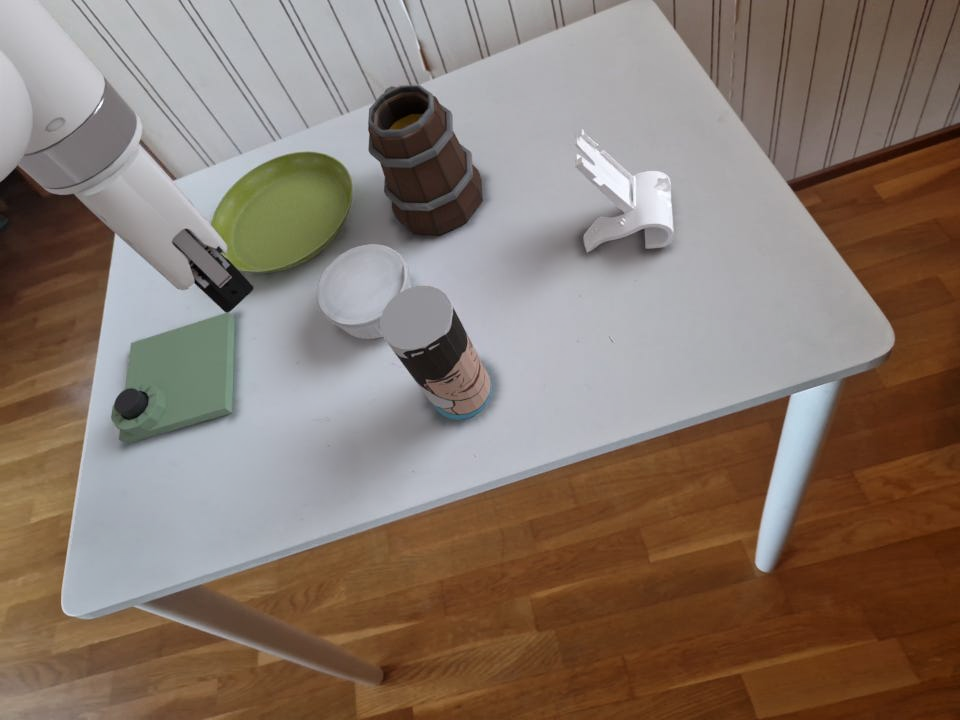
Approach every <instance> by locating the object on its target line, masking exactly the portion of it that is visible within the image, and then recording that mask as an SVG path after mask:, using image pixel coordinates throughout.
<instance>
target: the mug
mask: <svg viewBox="0 0 960 720" xmlns="http://www.w3.org/2000/svg"><path fill="white" fill-rule="evenodd" d="M453 120H454V118H453V113H452V111H451V110H450V109H449V108H447V107H446V106H444V105H442V104H441V103H440V101H439V100H438V98H437V97H436V96H435V95H433V93H432V92H430V91H429V90H428V89H426V88H425V87H424V86H422V85H420V84H410V85H409V84H408V85H406V84H405V85H398V86H393V85H392V86H389V87H387V88H385V90H384V92H383V93H382V94H380V95H379V97H378V98H377V99H376V100H375V101H374V102H373V104H372V105H371V106H370V107H369V108H368V121H367V122H368V123H367V125H368V126H367V131H368V148H367V149H368V150H367V151H368V153H369V154H370V156H372V157H373V158H374V159H375V160H377V162H379V164H380V167H381V170H382V173H383V175H384V183H383V184H384V185H383V193H384V195H385V196H386V197H387V198H388V199H389V200H390V201H391V211H392V213H393V215H394V216H395V218H396V220H397V221H398V222H399V223H401V225H402V226H404V227H405V228H406V229H407V230H408V231H409V232H410V233H411V234H414V235H415V234H416V235H433V236H441V235H443V234H445V233H447V232H449V231H451V230H453V229H456V228H458V227H460V226H462V225H464V224H466V223H468V221H470V219H471V218H472V216H473V215H474V214H475V212H476V210H477V209H478V208H479V207H480V206H481V204H482V203H483V202H484V200H483V182H482V177H481V175H480V171H479V169H478V168H477V167H476V166H474V164H473V155H472V151H470V150H469V149H468V148H466V147H465V146H464V145H462V144H461V143H460V142H459V139H458V137H457V135H456V134H455V131H454V122H453Z"/></svg>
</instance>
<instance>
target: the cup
mask: <svg viewBox="0 0 960 720" xmlns="http://www.w3.org/2000/svg"><path fill="white" fill-rule="evenodd" d="M380 327H381V333H382V335H383V337H382V338H384V340H385V342H386V343H387V344H388V346H389V347H390V348H391V350H392V352H394V354H395V355H396V357H397V358H398V359H399V361H400V362H401V363H402V365H403V366H404V368H405V369H406V370H407V372H408V373H409V375H410V376H411V377H412V379H413V380H414V381H415V383H416V385H417V386H418V387H419V388H420V389H421V391H422V392H423V393H424V395H425V396H426V398H427V399H428V401H429V402H430V403H431V405H432V406H433V407H434V409H435V410H436V412H438V413H439V414H440V415H441V416H443V417H444V418H447V419H450V420H454V421H455V420H458V421H461V420H466V419H470V418H473V417H474V416H476V415H478V414H479V413H481V412H482V411H483V409H484V408H486V406H488V403H489V401H490V399H491V397H492V391H493V384H492V378H491V377H490V375H489V373H488V371H487V370H486V367H485V366H484V364H483V361H482V359H481V358H480V355H479V354H478V352H477V350H476V348H475V346H474V345H473V342H472V340H471V339H470V337H469V335H468V333H467V331H466V329H465V327H464V325H463V323H462V321H461V319H460V317H459V316H458V313H457V312H456V310H455V308H454V305H453V303H452V302H451V301H450V298H449V297H448V296H447V294H446V293H445V292H444V291H442V290H441V289H440V288H438V287H434V286H432V285H415V286H412V287H411V288H408V289H406V290H404V291H402V292H400V293H399V294H397V295H396V296H395V297H394V298H393V299H392V300H390V301H389V302H388V304H387V306H386V307H385V309H384V310H383V313H382V316H381V320H380Z"/></svg>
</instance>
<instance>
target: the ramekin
mask: <svg viewBox="0 0 960 720" xmlns="http://www.w3.org/2000/svg"><path fill="white" fill-rule="evenodd" d="M410 276H411V275H410V270H409V267H408V265H407V262H406V260H405V259H404V258H403V257H402V255H401V254H400V253H399V252H397V250H395V249H393V248H391V247H390V246H387V245H383V244H376V243H370V244H369V243H368V244H362V245H359V246H355V247H353V248H350V249H348V250H346V251H344V252H343V253H341V254H340V255H338V256H337V257H336V258H335V259H334V260H333V261H331V263H330V264H329V265H328V266H327V267H326V268H325V270H324V271H323V273H322V274H321V276H320V278H319V281H318V284H317V288H316V289H317V290H316V301H317V305H318V307H319V310H320V311H321V313H322V315H323V316H324V317H325V318H326V319H327V320H328V321H329V322H330V323H332V324H333V325H335V326H337V327H339V328H340V329H342V331H344V332H346V333H347V334H349V335H350V336H352V337H355V338H357V339H363V340H374V339H379V338H384V337H383V335H382V333H381V327H380V320H381V316H382V313H383V310H384V309H385V307H386V306H387V304H388V302H389V301H390V300H392V299H393V298H394V297H395V296H396V295H397V294H399V293H400V292H402V291H404V290H406V289H408V288H411V287H413V284H412V280H411V278H410Z"/></svg>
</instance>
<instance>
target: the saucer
mask: <svg viewBox="0 0 960 720" xmlns="http://www.w3.org/2000/svg"><path fill="white" fill-rule="evenodd" d="M352 179H353V178H352V177H351V174H350V172H349V170H348V169H347V167H346V166H345V164H343V163H342V162H341V160H339V159H337V158H335V157H334V156H332V155H330V154H327V153H323V152H319V151H318V152H317V151H295V152H291V153H286V154H281V155H279V156H276V157H274V158H272V159H271V158H270V159H269V160H267V161H265V162H262V163H261V164H259V165H258V166H256V167H254V168H253V169H251V170H250V171H248V172H247V173H245V174H244V175H243V176H242V177H240V178H239V179H238V180H237V181H236V182H235V183H234V184H233V185H232V186H231V187H230V188H229V189H228V190H227V191H226V192H225V194H224V195H223V197H222V198H221V200H220V201H219V203H218V204H217V206H216V208H215V210H214V213H213V215H212V218H211V222H210V224H211V226H212V227H213V228H214V229H215V230H216V232H217V233H218V234H219V235H220V237H221V238H222V239H223V240H224V242H225V243H226V244H227V254H224V253H222V255H223V256H224V257H225V258H227V259H228V260H229V261H230V262H231V263H232V264H233V265H234V266H235V267H236V268H237V269H238V271H240V272H246V273H252V274H253V273H254V274H267V273H276V272H281V271H285V270H288V269H292V268H295V267H297V266H299V265H302V264H303V263H305V262H308V261H309V260H311V259H313V258H314V257H316V256H317V255H318V254H319V253H321V252H322V251H324V249H326V248H327V247H328V246H329V245H330V244H331V243H332V242H333V241H334V239H335V238H336V237H337V235H338V234H339V233H340V231H341V230H342V228H343V227H344V225H345V223H346V221H347V218H348V216H349V213H350V210H351V207H352V203H353V194H354V193H353V192H354V188H353V187H354V186H353V185H354V184H353V180H352Z"/></svg>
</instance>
